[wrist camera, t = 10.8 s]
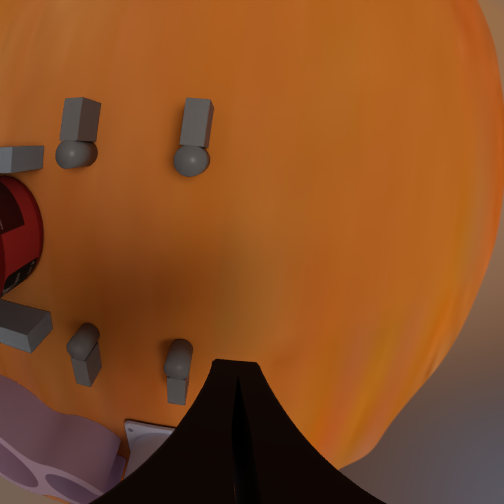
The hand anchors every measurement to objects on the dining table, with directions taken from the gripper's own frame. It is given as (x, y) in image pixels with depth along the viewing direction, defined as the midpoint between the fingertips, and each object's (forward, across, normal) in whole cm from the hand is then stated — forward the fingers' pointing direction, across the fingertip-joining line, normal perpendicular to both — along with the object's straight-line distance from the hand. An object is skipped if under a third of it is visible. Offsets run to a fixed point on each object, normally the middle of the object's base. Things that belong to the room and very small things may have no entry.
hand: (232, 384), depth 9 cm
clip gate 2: (+10, +3, 0) cm, 11 cm away
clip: (+11, +19, +21) cm, 30 cm away
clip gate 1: (+10, +10, 0) cm, 14 cm away
